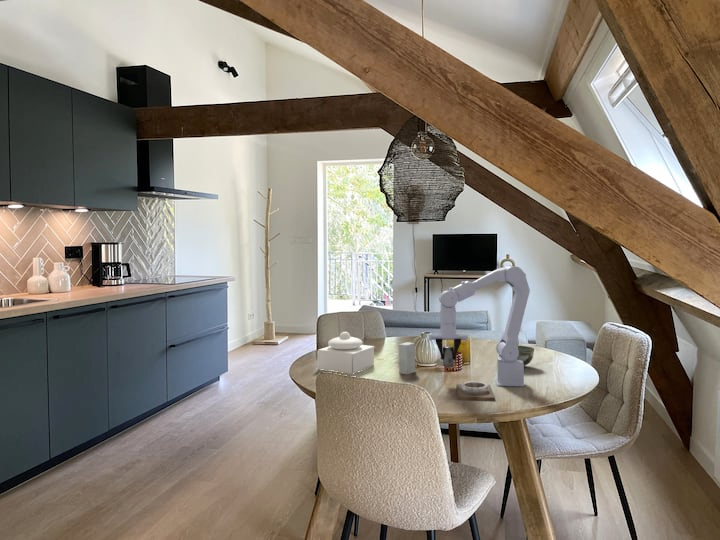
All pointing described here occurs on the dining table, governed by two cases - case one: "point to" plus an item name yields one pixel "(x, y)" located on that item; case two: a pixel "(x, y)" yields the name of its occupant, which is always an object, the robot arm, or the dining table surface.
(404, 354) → the skincare box
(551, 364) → the dining table surface
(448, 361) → the cylinder
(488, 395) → the collar board
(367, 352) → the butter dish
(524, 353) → the bowl
